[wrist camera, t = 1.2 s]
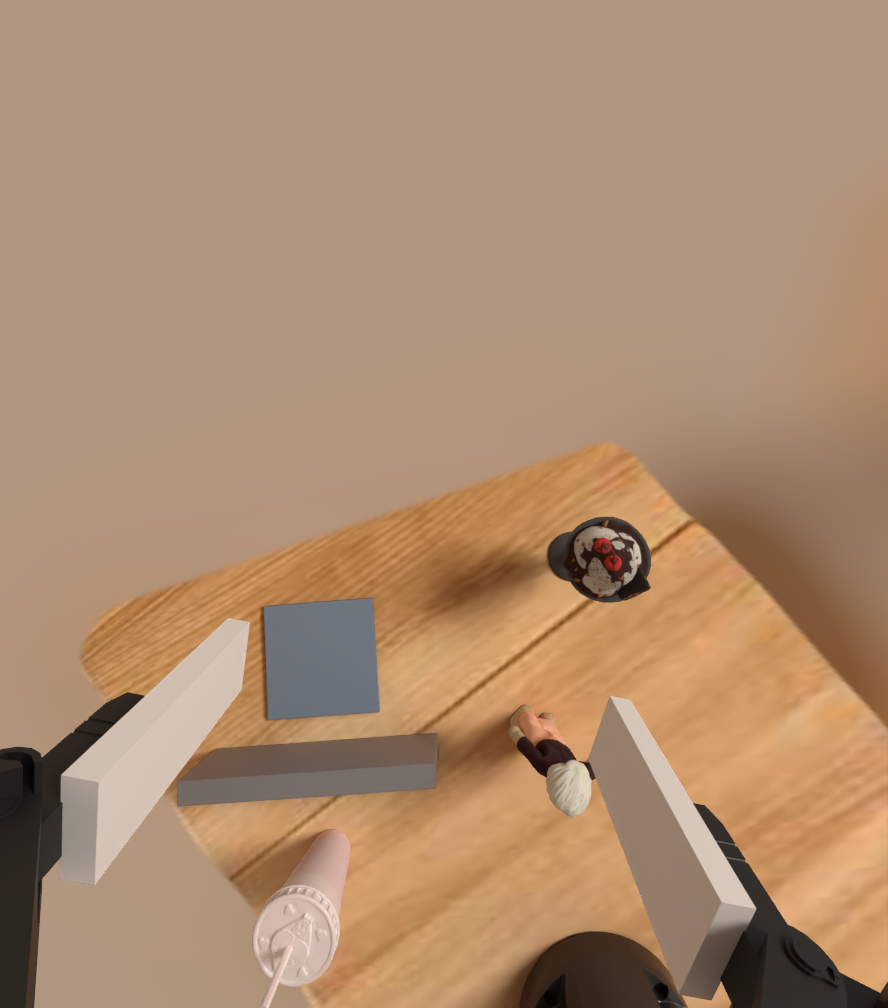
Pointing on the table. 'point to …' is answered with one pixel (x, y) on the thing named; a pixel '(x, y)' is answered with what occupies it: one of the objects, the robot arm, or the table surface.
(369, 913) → the table surface
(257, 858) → the table surface
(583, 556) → the sundae
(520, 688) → the table surface
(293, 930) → the smoothie
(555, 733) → the grandmother figurine
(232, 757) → the divider wall
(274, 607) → the mat
